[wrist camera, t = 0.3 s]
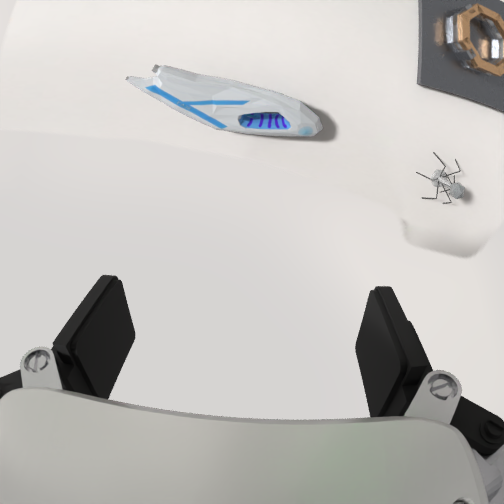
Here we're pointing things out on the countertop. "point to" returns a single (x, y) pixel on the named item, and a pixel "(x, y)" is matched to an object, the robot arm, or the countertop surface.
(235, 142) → the countertop surface
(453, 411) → the robot arm
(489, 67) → the collar base
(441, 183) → the bacteriophage
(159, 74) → the spaceship
